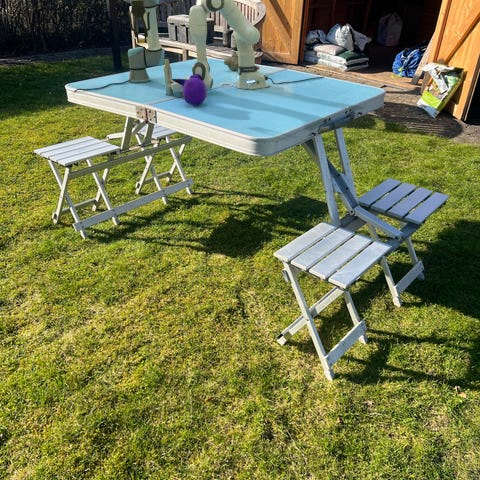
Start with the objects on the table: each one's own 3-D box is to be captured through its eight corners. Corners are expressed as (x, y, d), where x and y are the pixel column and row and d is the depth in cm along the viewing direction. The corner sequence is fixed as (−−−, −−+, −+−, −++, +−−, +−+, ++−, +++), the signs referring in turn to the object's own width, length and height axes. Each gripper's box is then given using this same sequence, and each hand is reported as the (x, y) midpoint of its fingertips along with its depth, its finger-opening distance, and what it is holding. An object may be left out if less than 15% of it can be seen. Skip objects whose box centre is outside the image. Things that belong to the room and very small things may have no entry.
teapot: (227, 73, 361) (227, 53, 353) (221, 70, 369) (220, 51, 362) (250, 70, 370) (250, 50, 362) (243, 68, 378) (242, 49, 371)
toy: (196, 96, 291) (207, 111, 270) (169, 91, 283) (179, 106, 263) (201, 71, 283) (213, 84, 262) (173, 66, 275) (184, 79, 255)
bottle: (174, 93, 300) (171, 59, 289) (172, 95, 296) (169, 60, 285) (167, 93, 301) (164, 58, 290) (165, 95, 297) (161, 60, 286)
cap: (138, 42, 275) (138, 38, 274) (145, 42, 276) (145, 38, 275) (138, 43, 272) (138, 39, 271) (145, 43, 272) (145, 39, 271)
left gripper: (121, 0, 259) (127, 44, 270) (151, -1, 259) (155, 43, 271) (123, 0, 265) (128, 42, 277) (152, -1, 266) (156, 42, 278)
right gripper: (190, 76, 302) (170, 76, 303) (185, 82, 284) (163, 82, 285) (191, 85, 305) (171, 85, 306) (185, 92, 287) (164, 92, 288)
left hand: (142, 43), depth 274 cm, fingers closed on cap, 4 cm apart
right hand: (167, 84), depth 295 cm, fingers closed on bottle, 5 cm apart
